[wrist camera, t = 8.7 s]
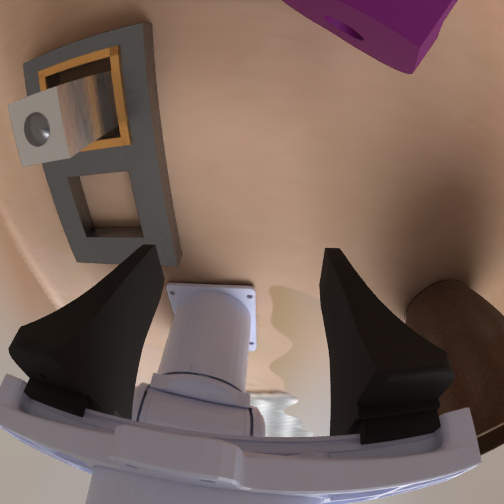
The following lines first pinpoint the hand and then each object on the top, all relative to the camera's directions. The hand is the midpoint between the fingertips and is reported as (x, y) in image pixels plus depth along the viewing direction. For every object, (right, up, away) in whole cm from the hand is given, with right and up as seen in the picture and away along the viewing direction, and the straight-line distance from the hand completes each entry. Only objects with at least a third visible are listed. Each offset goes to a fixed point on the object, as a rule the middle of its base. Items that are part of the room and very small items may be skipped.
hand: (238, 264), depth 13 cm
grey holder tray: (-10, +8, +7) cm, 15 cm away
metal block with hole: (-11, +11, +4) cm, 16 cm away
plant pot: (+20, -5, +14) cm, 25 cm away
